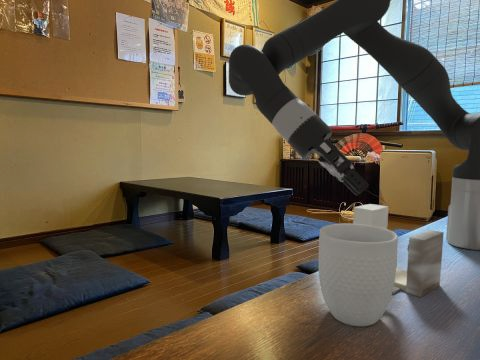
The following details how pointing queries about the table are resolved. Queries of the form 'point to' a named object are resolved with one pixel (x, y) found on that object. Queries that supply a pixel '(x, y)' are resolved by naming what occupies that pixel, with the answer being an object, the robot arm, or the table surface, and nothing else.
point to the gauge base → (421, 264)
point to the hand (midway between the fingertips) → (362, 191)
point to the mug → (357, 271)
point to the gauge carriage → (371, 215)
